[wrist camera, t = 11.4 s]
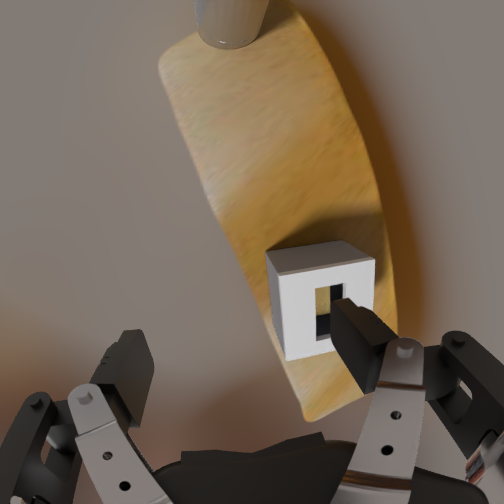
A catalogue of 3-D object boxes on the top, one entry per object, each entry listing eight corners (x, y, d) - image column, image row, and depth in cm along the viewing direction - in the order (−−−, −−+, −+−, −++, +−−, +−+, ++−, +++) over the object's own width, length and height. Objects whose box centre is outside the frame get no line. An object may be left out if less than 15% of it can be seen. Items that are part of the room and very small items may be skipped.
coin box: (265, 251, 40) (279, 276, 30) (342, 240, 40) (375, 259, 31) (272, 323, 43) (286, 361, 33) (342, 309, 44) (369, 340, 34)
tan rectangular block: (299, 267, 40) (311, 282, 34) (315, 265, 40) (329, 279, 35) (301, 298, 42) (313, 316, 36) (316, 295, 42) (330, 312, 36)
